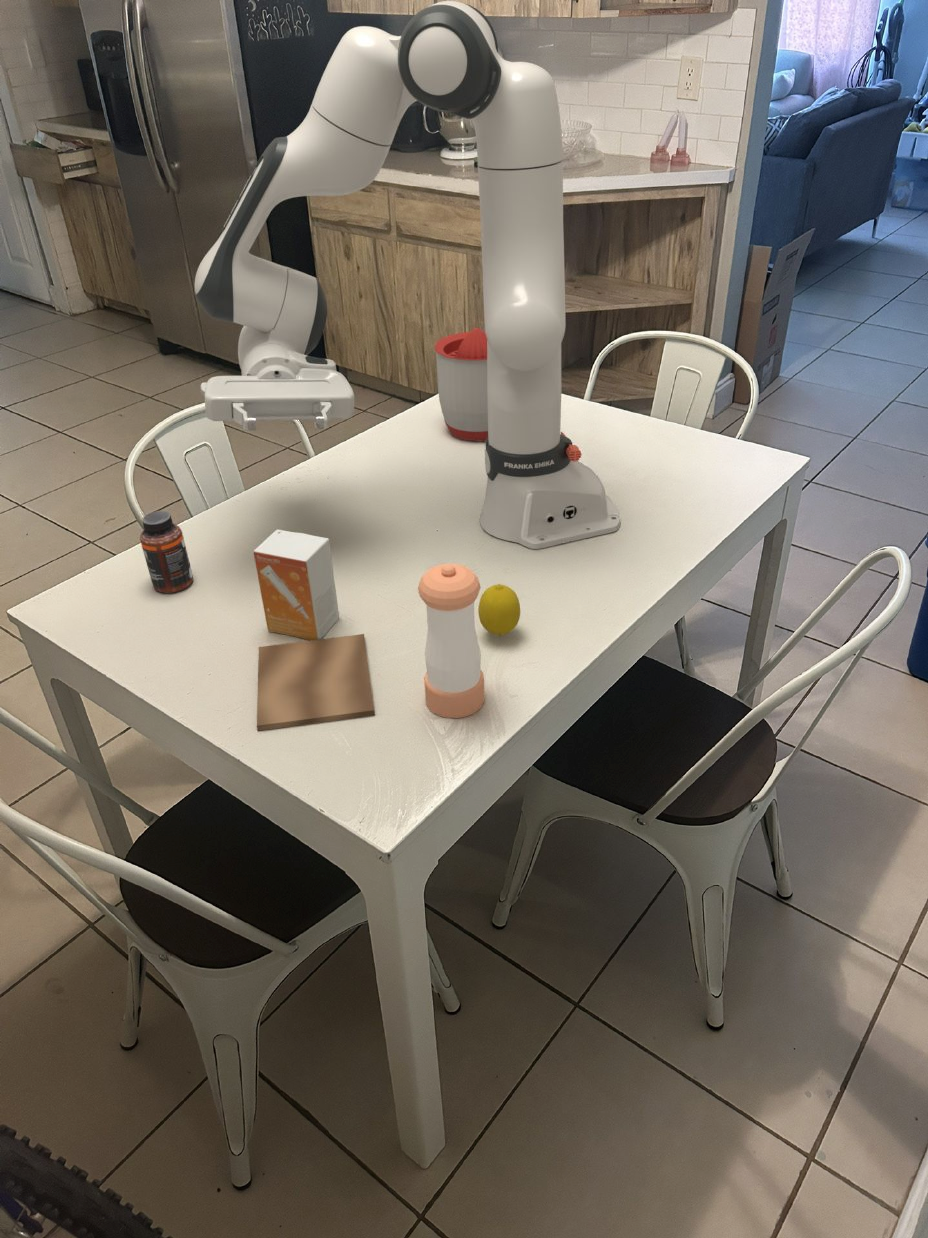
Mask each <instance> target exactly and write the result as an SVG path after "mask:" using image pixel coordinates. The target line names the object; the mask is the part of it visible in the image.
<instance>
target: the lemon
mask: <svg viewBox="0 0 928 1238" xmlns="http://www.w3.org/2000/svg"><path fill="white" fill-rule="evenodd" d="M477 612H478V618H479V622H480V624H481V625H482V627H483V629H485V631H486V632H488V633H490V634H492V635H493V636H495V635H496V636H498V635H499V636H498V637H501V636H504V635H507V634H509V633H511V632H512V631H513V630H514V629H515V628H516V627H517V626H518V624H519V621H520V617H521V604H520V601H519V597H518V596H517V594H516V592H515V591H514V589H513V588H511V587H510V586H507V585H505V584H494V585H492V586H489V587H487V588H486V589H485V590H484V591H483V592H482V594H481V595H480V598H479V602H478V609H477Z"/></svg>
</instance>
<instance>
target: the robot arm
mask: <svg viewBox="0 0 928 1238" xmlns="http://www.w3.org/2000/svg"><path fill="white" fill-rule="evenodd" d="M415 102H418V103H420V104H421V105H423V106H425V107H427V108H429V109H432V110H434V111H438V112H442V113H446V114H449V115H454V116H456V117H460V118H463V119H467V120H471V121H472V124H473V128H474V131H475V139H476V153H477V154H476V156H477V157H476V158H477V159H476V160H477V174H478V175H477V176H478V178H477V179H478V193H479V194H478V195H479V196H478V198H479V210H480V212H479V215H480V232H481V235H480V238H481V239H480V240H481V241H480V242H481V263H482V265H481V266H482V267H481V268H482V269H481V271H482V290H483V291H482V292H483V294H482V295H483V296H482V297H483V315H484V316H483V317H484V331H485V334H486V338H487V400H488V437H487V439H486V441H485V449H484V464H485V465H484V466H485V467H484V468H485V473H486V476H487V477H486V478H487V480H486V489H485V490H486V491H485V495H484V496H485V497H484V502H483V507H482V510H481V513H480V518H479V524H480V525H481V528H482V529H483V530H484V531H485V532H486V533H488V534H489V535H491V536H492V537H495V538H498V539H500V540H505V541H508V542H509V541H510V542H513V543H518V544H520V545H522V546H523V547H526V548H529V549H532V550H538V549H539V550H540V549H544V548H547V547H548V548H549V547H552V546H557V545H561V543H562V544H566V543H570V541H571V542H574V541H579V540H583V539H587V538H592V537H597V536H602V535H605V534H609V533H610V534H611V533H613V532H616V531H618V530H619V528H620V527H621V526H620V525H621V515H620V510H619V508H618V507H617V505H616V503H614V501H613V499H611V497H609V496H608V495H607V494H606V491H605V487H604V484H603V482H602V480H601V479H600V477H599V476H598V475H597V474H596V472H595V471H594V470H593V469H591V468H590V467H588V466H587V465H585V464H584V463H582V462H580V459H581V458H582V451H581V450H580V449H579V447H578V446H577V445H575V444H573V441H572V440H571V439H570V438H569V437H567V435H566V434H565V433H564V432H563V431H561V419H562V415H561V414H562V342H563V339H564V336H565V333H566V322H567V321H566V282H565V281H566V280H565V279H566V278H565V276H566V275H565V243H564V166H563V165H564V163H563V162H564V159H563V158H564V157H563V152H564V151H563V134H562V122H561V113H560V107H559V102H558V95H557V90H556V85H555V82H554V80H553V77H552V76H551V75H550V73H549V72H548V71H547V70H546V69H544V67H541V66H540V65H537V64H535V63H531V62H526V61H509V60H506V59H504V58H503V57H502V56H501V55H500V53H499V46H498V40H497V36H496V33H495V30H494V28H493V26H492V23H491V22H490V21H489V19H488V18H487V17H486V16H485V15H484V13H482V12H481V11H480V10H479V9H477V8H476V7H474V6H472V5H470V4H467V3H463V2H461V1H455V0H443V1H438V2H436V3H434V4H431V5H429V6H427V7H425V8H423V9H422V10H420V11H418V12H417V13H416V14H415V15H413V17H412V18H411V19H410V20H409V21H408V22H407V24H406V25H405V27H404V29H403V31H402V33H401V35H399V36H398V35H394V34H391V33H388V32H387V31H385V30H383V29H380V28H378V27H374V26H368V25H367V26H366V25H364V26H363V25H360V26H355V27H353V28H350V29H349V30H348V31H346V33H344V35H343V36H342V37H341V39H340V41H339V42H338V44H337V46H336V47H335V49H334V51H333V53H332V55H331V56H330V58H329V61H328V63H327V65H326V67H325V70H324V71H323V73H322V76H321V79H320V81H319V83H318V86H317V88H316V91H315V93H314V97H313V99H312V102H311V105H310V107H309V111H308V112H307V114H306V116H305V118H304V119H303V121H302V122H301V123H300V124H299V126H298V127H296V129H294V131H292V132H291V133H289V135H287V136H280V137H275V138H274V139H273V140H272V141H271V142H270V143H269V144H268V145H267V147H266V148H265V150H264V151H263V153H261V156H260V157H259V159H258V161H257V163H256V165H255V166H254V168H253V170H252V171H251V173H250V175H249V176H248V179H247V180H246V182H245V184H244V186H243V188H242V190H241V192H240V194H239V195H238V197H237V199H236V201H235V203H234V205H233V207H232V209H231V211H230V213H229V214H228V217H227V219H226V220H225V222H224V225H223V226H222V228H221V230H220V231H219V233H218V235H217V236H216V238H215V240H214V241H213V243H212V245H211V246H210V248H209V249H208V251H207V253H206V254H205V255H204V257H203V258H202V260H201V261H200V264H199V266H198V267H197V271H196V273H195V278H194V291H193V292H194V293H193V295H194V296H195V298H196V300H197V302H198V304H199V305H200V307H201V308H202V310H203V311H204V312H205V314H207V315H208V316H209V318H210V319H214V320H219V321H222V322H227V323H232V324H233V323H234V324H239V325H242V326H243V327H242V328H241V331H240V333H239V337H238V344H237V345H238V346H237V357H238V364H239V368H240V370H241V375H217V376H212V377H209V379H208V380H207V382H206V381H205V382H201V384H200V386H199V387H200V393H201V395H202V396H203V397H204V407H205V408H204V409H205V417H206V419H208V420H210V421H213V422H235V423H237V424H238V425H241V426H243V431H244V432H245V431H256V421H302V420H303V421H305V420H306V421H309V420H310V421H311V420H314V426H315V430H327V429H328V423H329V422H330V421H331V420H349V419H351V418H352V417H353V416H354V413H355V394H354V390H353V388H352V386H351V385H350V382H349V381H348V380H347V377H345V376H344V375H343V374H342V373H341V372H339V371H337V366H336V365H337V364H336V361H334V360H333V359H329V358H328V359H327V358H323V357H322V358H321V357H316V356H311V355H309V354H310V353H311V352H312V351H313V350H315V348H316V347H317V345H318V344H319V343H320V340H321V339H322V335H323V333H324V330H325V327H326V325H327V324H326V323H327V318H328V301H327V297H326V294H325V291H324V289H323V286H322V284H321V282H320V281H319V279H318V278H317V277H315V276H312V275H309V274H307V273H305V272H302V271H299V270H298V269H294V268H292V267H288V266H285V265H281V264H278V263H276V262H273V261H270V260H267V259H264V258H262V257H259V256H256V255H254V254H251V253H250V250H251V248H252V247H253V245H254V243H255V242H256V239H257V237H258V235H259V233H260V232H261V230H262V229H263V227H264V225H265V222H266V221H267V219H268V217H269V215H270V213H271V211H273V209H274V208H275V207H276V206H277V205H279V204H280V203H281V202H283V201H287V200H290V199H292V198H298V197H299V198H300V197H308V196H309V197H313V196H314V197H315V196H317V197H318V196H319V197H339V196H345V195H350V194H354V193H357V192H359V191H361V190H363V189H365V188H366V187H368V186H369V185H371V184H372V183H373V182H374V181H375V179H376V178H377V176H378V175H379V174H380V171H381V169H382V167H383V165H384V163H385V161H386V158H387V156H388V154H389V152H390V148H391V145H392V144H393V141H394V138H395V135H396V133H397V131H398V127H399V125H400V123H401V120H402V119H403V117H404V115H405V113H406V112H407V110H408V108H409V107H410V106H411V105H412V104H414V103H415Z"/></svg>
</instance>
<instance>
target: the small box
mask: <svg viewBox="0 0 928 1238" xmlns="http://www.w3.org/2000/svg"><path fill="white" fill-rule="evenodd" d="M330 544H331V543H330V539H329V538H328V537H322V536H317V535H312V534H308V533H303V532H296V531H295V532H294V531H288V530H283V529H276V530H275V531H274V532H273V533H271V534H270V535H269V536H268V537H267V538H265V540H263V542H261V543H260V544H259V545H258V546H257V547H256V548H255V549H254V550H253V556H254V562H255V569H256V572H257V573H256V574H257V579H258V584H259V590H260V594H261V601H262V605H263V612H264V616H265V622H266V623H265V624H266V627H267V631H268V632H271V633H276V634H281V635H286V636H290V637H294V638H295V637H296V638H298V639H299V638H300V639H303V640H307V641H311V640H319V639H323V637H324V636H325V635H326V634H327V633H328V632H329V630H330V629H331V628H332V627H333V626H334V625H335V624H336V622H337V621H338V620H339V619H340V612H339V604H338V596H337V590H336V582H335V575H334V569H333V568H334V567H333V560H332V551H331V546H330Z"/></svg>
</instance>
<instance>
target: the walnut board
mask: <svg viewBox="0 0 928 1238" xmlns="http://www.w3.org/2000/svg"><path fill="white" fill-rule="evenodd" d="M365 638H366V637H365V633H360V634H351V635H344V636H337V637H329V638H327V637H326V638H322V639H319V640H305V641H304V640H303V641H297V642H288V643H278V644H271V645H264V646H258V661H257V662H258V665H257V666H258V667H257V668H258V670H257V671H258V672H257V702H256V703H257V705H256V728H257V732H258V731H261V732H262V731H266V730H267V731H268V730H275V729H282V728H283V729H284V728H288V727H297V726H305V725H311V724H316V723H318V724H320V723H326V722H334V721H340V720H348V719H349V720H350V719H356V718H365V717H370V716H371V717H372V716H375V715H376V714H375V706H374V700H373V692H372V682H371V677H370V675H371V674H370V668H369V667H370V666H369V660H368V653H367V646H366V639H365Z"/></svg>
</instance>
